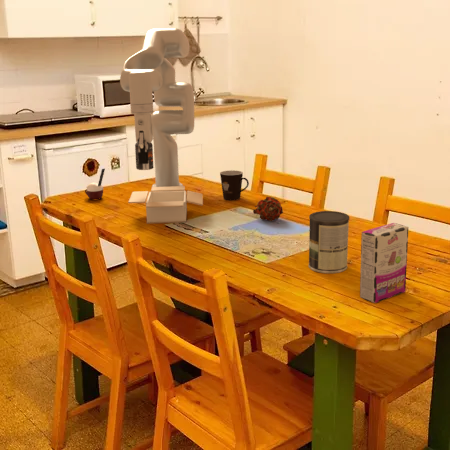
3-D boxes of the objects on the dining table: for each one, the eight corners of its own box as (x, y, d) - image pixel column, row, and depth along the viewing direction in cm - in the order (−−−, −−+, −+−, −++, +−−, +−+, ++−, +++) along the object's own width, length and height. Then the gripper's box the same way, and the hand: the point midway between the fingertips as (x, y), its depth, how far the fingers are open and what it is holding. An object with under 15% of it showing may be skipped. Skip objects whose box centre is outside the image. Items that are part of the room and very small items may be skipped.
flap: (187, 190, 226) (202, 193, 226) (187, 191, 226) (202, 195, 227) (186, 200, 212) (202, 204, 212) (186, 201, 212) (202, 205, 212)
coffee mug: (216, 197, 245) (216, 171, 242) (237, 194, 249) (236, 169, 246) (229, 204, 235) (229, 177, 232) (250, 201, 239) (250, 175, 236)
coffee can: (300, 268, 169) (301, 217, 165) (321, 257, 177) (322, 208, 173) (334, 276, 163) (336, 223, 159) (354, 265, 171) (356, 214, 167)
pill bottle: (152, 170, 217) (150, 137, 214) (134, 170, 217) (132, 137, 214) (154, 167, 223) (153, 134, 219) (138, 167, 223) (136, 134, 220)
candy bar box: (389, 286, 156) (393, 221, 151) (406, 292, 152) (410, 226, 148) (357, 297, 150) (360, 230, 145) (374, 304, 146) (377, 235, 141)
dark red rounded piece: (277, 229, 209) (258, 225, 219) (293, 211, 211) (274, 208, 222) (262, 210, 206) (244, 208, 216) (279, 192, 208) (260, 190, 218)
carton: (135, 207, 233) (134, 187, 231) (187, 205, 234) (186, 186, 232) (127, 229, 207) (126, 206, 205) (185, 227, 208) (184, 205, 205)
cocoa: (83, 199, 248) (78, 169, 245) (97, 195, 252) (93, 166, 249) (96, 202, 241) (92, 171, 238) (110, 198, 245) (106, 168, 242)
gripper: (150, 111, 206) (153, 166, 211) (155, 106, 222) (157, 157, 227) (127, 111, 206) (130, 166, 211) (133, 106, 222) (136, 157, 227)
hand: (144, 161), depth 219 cm, fingers closed on pill bottle, 6 cm apart
